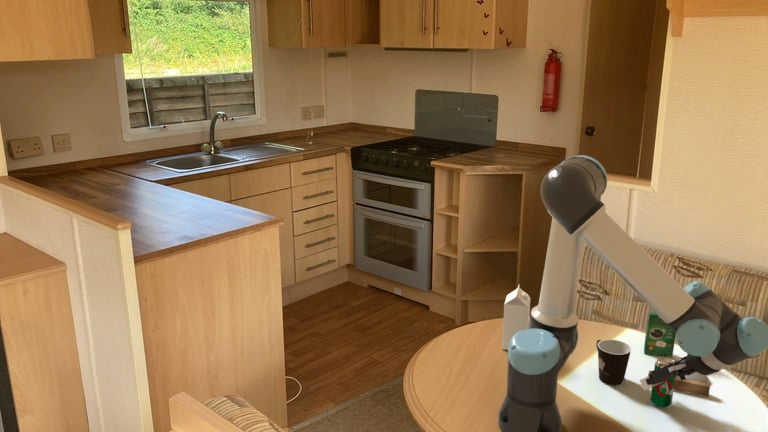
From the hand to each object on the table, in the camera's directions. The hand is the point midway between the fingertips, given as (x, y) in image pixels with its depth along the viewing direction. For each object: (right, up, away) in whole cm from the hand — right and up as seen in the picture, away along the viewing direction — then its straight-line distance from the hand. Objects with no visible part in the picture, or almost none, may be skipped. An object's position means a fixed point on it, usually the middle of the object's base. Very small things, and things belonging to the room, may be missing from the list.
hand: (651, 382), depth 167 cm
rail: (+9, -3, +5) cm, 11 cm away
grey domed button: (+15, -1, +9) cm, 18 cm away
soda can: (+1, -5, -2) cm, 6 cm away
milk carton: (-30, +3, +29) cm, 42 cm away
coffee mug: (-7, -1, +11) cm, 13 cm away
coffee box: (+12, +2, +23) cm, 26 cm away
